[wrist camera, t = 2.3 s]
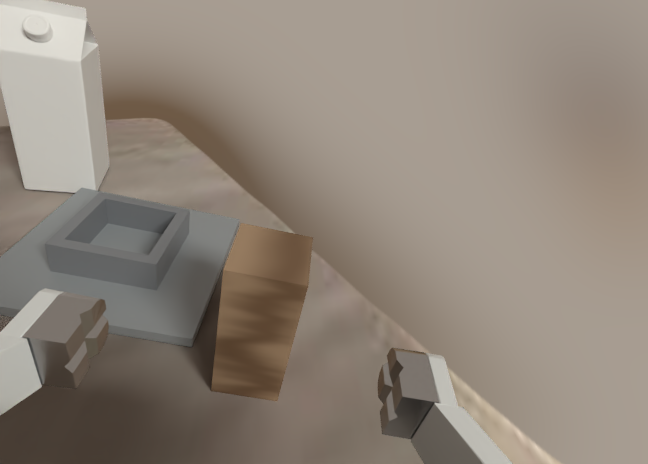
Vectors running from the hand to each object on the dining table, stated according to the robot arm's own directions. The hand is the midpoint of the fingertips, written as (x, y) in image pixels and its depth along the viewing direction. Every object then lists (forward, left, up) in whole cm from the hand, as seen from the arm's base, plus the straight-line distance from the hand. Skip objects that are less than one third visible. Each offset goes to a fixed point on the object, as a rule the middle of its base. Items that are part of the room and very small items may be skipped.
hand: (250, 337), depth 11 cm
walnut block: (0, +12, -18) cm, 22 cm away
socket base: (-14, +22, -18) cm, 32 cm away
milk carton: (-26, +34, -19) cm, 47 cm away
